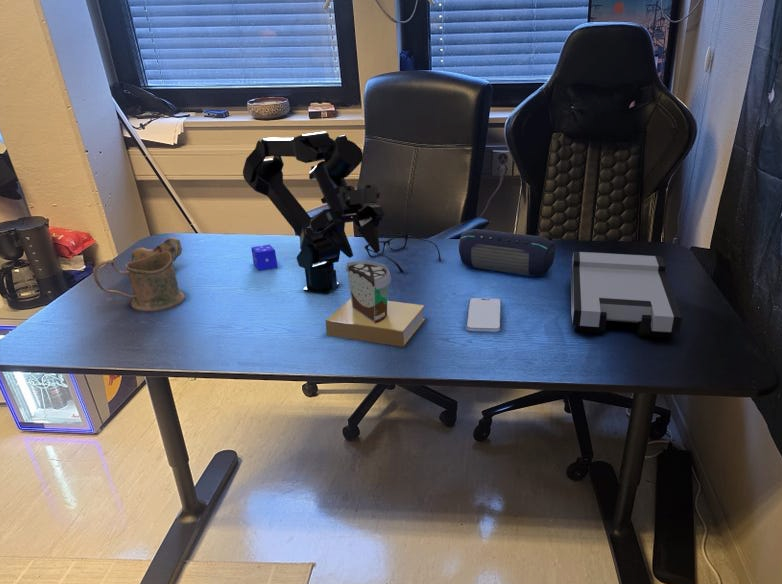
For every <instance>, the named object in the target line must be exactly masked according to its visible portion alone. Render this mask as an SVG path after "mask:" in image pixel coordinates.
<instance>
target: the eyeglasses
mask: <svg viewBox="0 0 782 584" xmlns="http://www.w3.org/2000/svg"><path fill="white" fill-rule="evenodd" d="M400 237H404V239H405V242H404V245H403V246H402V247H401V248H398V249H397V248H396V249H394V248H392V246H391V243H390V242H391V241H393V240H394V239H396V238H400ZM409 238H412V239H416V240H420V241H424V242H428V243H431V244H433V245H434V246H435V248H436V249H437V254H438V261H439V262H441V261H442V258H441V252H440V249H439V248H438V246H437V244H435V243H434V242H432V241H430V240H427V239H423V238H419V237H416V236H412V235H409V234H399V235H396V236H393V237H391V238H389V239H388V240H383V241H382V240H381V241H380V240H379V244H380V243H382V244H383V248H382V251H381V253H379V252H377V253H376V252H375V251H374V250H373V249H370V248H369V247H370V245H369V244H368V243H367V244H366V245H365V246H364V250H366V252H367V254H368V256H369V257H370V258H376V257H379V256H382V257H384V258H386V259H388V260H390V261H391V262H393V263H394V264H395V265H396V267H397V269H398V270H399V272H400V273H402V274H403V273H405V271H404V269H402V267H401V266H400V265H399V264H398V263H397V262H396V261H395V260H393V259H392V258H390V257H388V256H386V255H383V253H384V251H385V250H386V249H387V246H388V247H389V249H390V250H391V251H392V252H397V251H400V250H402V249H404V248H406V245H407V243H408V239H409ZM386 244H387V246H386ZM370 252H372V253H374V254H376V255H371V253H370Z"/></svg>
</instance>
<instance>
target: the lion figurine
mask: <svg viewBox="0 0 782 584" xmlns="http://www.w3.org/2000/svg"><path fill="white" fill-rule="evenodd" d="M166 251H167V252H169V253H170V254H171V257H172V262H173V263H174V262H176V260H177V258H179V257H180V256H181V254H182V252H183V247H182V244H181V241H180V239H178V238H176V237H175V236H174V237H169V238H168V237H167V239H165V240H164V241H163V242H162V243H160V244H157V246H156V247H155V248H153V249H151V248H144V247H137V248H135V249H133V250H132V251H131V253H130V262H134V261H137V260H140V259H143V258H146V257H148V256H151V255H153V254H157V253H161V252H166Z"/></svg>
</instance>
